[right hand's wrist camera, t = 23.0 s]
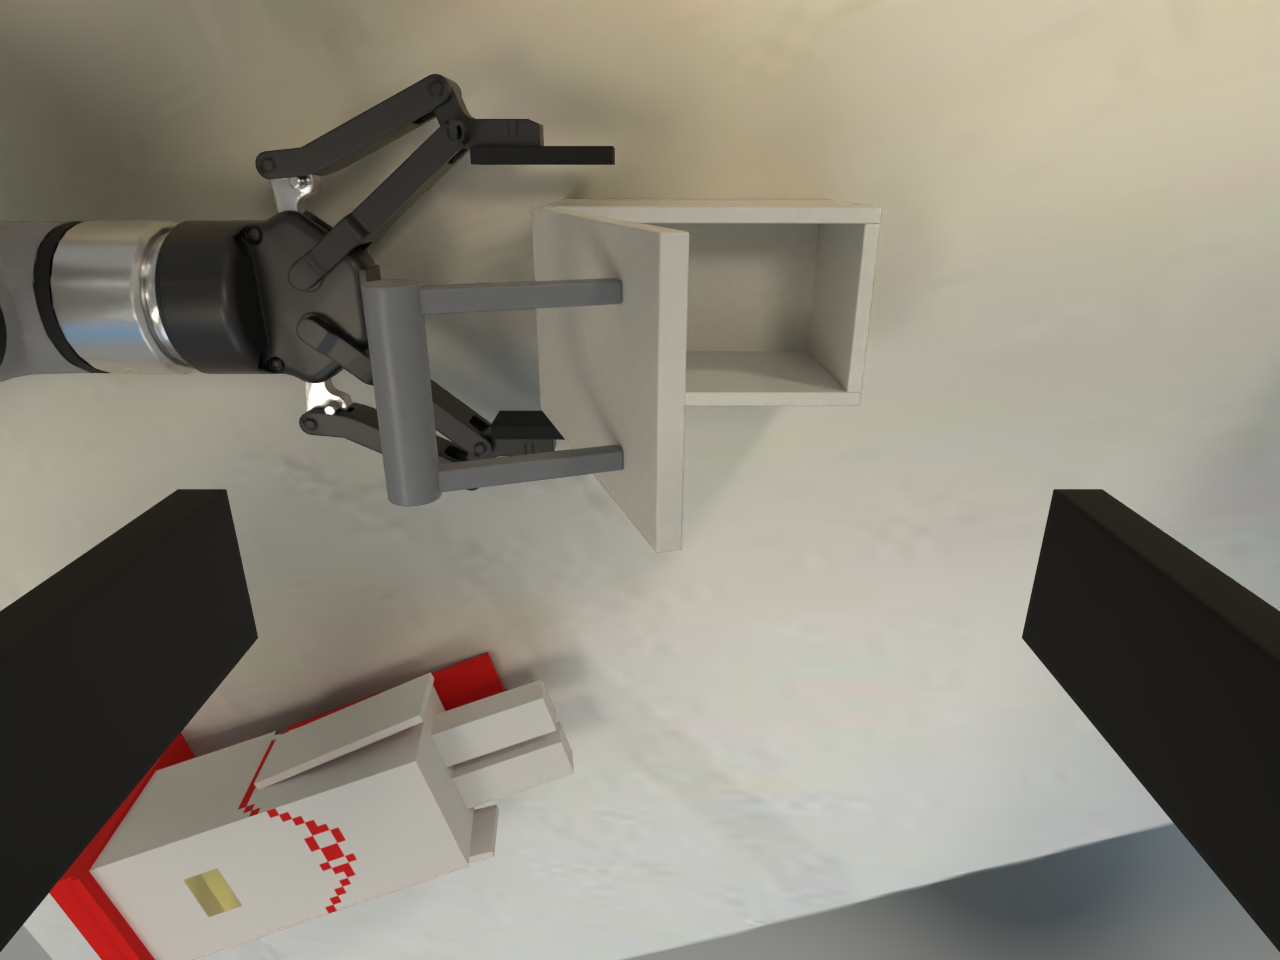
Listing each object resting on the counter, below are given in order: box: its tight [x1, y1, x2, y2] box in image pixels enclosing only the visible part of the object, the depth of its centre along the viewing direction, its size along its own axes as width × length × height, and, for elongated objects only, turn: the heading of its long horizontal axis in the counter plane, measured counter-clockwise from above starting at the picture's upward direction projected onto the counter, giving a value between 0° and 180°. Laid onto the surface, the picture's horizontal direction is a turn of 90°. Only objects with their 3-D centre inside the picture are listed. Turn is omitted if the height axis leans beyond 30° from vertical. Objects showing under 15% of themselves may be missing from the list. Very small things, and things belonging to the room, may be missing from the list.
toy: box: [49, 653, 574, 960], centre depth 52 cm, size 12×13×30 cm
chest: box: [543, 199, 882, 406], centre depth 40 cm, size 15×9×10 cm, turn 90°
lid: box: [361, 207, 689, 553], centre depth 27 cm, size 16×9×8 cm
